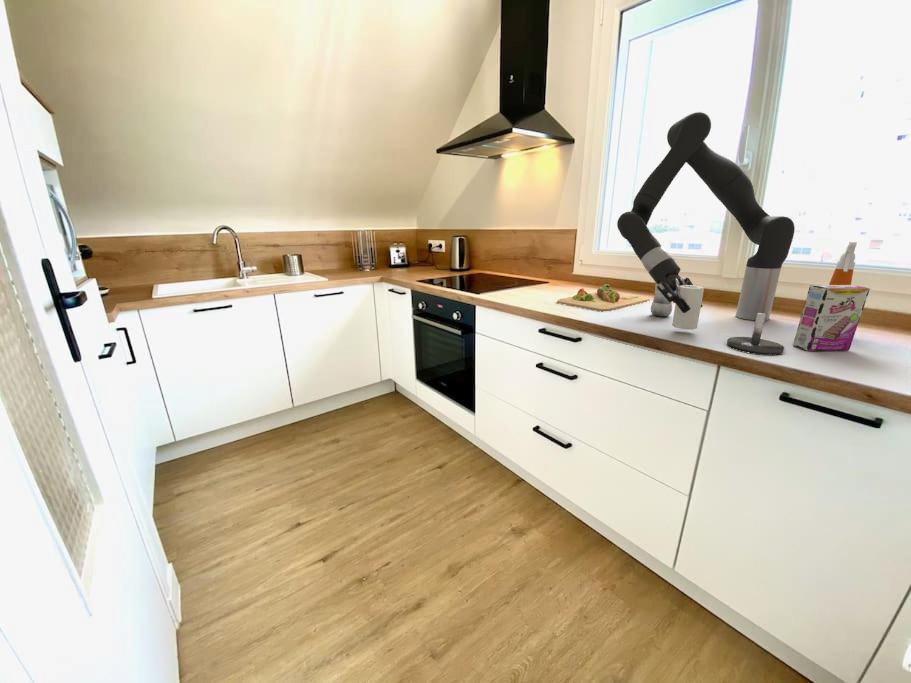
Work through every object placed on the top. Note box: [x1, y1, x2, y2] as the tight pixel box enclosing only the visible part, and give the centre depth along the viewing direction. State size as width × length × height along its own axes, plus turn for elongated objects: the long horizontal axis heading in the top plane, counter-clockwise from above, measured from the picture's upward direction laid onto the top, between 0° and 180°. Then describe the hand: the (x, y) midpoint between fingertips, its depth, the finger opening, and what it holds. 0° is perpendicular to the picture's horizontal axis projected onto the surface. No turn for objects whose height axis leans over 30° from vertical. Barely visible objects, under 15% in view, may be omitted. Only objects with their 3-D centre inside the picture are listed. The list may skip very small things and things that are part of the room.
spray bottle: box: [828, 241, 857, 285], centre depth 108 cm, size 7×11×26 cm, turn 137°
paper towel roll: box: [671, 284, 705, 330], centre depth 113 cm, size 6×6×12 cm
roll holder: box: [726, 313, 785, 356], centre depth 100 cm, size 12×12×9 cm
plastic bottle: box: [650, 257, 676, 317], centre depth 133 cm, size 6×7×20 cm
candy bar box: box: [792, 284, 871, 352], centre depth 97 cm, size 11×5×16 cm, turn 92°
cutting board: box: [556, 283, 651, 313], centre depth 160 cm, size 35×23×8 cm
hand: (693, 309), depth 111 cm, fingers closed on paper towel roll, 6 cm apart
